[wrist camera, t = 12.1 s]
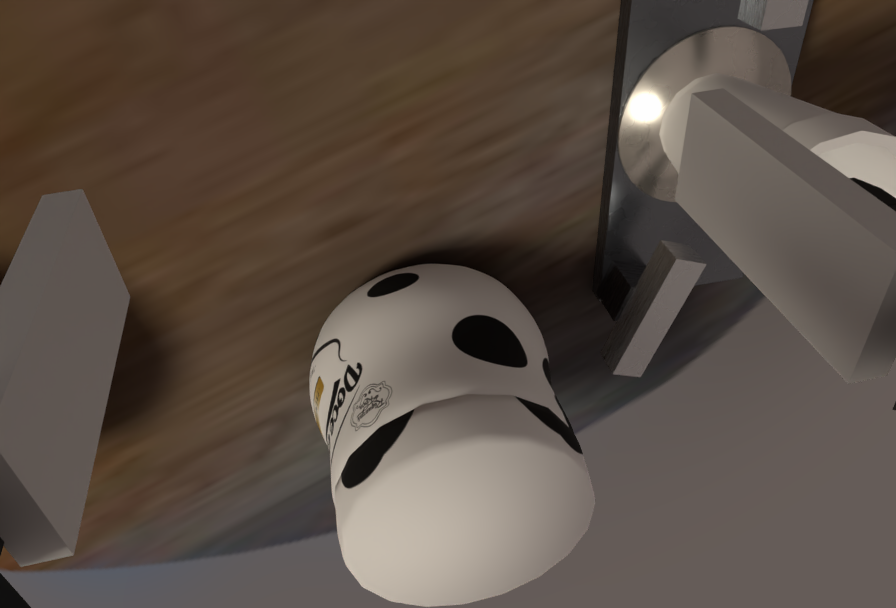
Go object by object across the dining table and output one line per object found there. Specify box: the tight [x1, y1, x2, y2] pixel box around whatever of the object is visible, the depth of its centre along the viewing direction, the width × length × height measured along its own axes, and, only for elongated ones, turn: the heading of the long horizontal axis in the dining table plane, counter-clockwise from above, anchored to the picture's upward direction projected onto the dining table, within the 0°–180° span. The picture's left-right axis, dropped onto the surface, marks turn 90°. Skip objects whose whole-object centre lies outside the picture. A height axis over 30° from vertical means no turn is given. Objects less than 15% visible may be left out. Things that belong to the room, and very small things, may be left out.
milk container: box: [309, 263, 596, 607], centre depth 48 cm, size 17×17×18 cm
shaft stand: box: [592, 0, 813, 377], centre depth 45 cm, size 34×13×7 cm, turn 2°
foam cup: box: [659, 73, 896, 198], centre depth 42 cm, size 10×9×13 cm
